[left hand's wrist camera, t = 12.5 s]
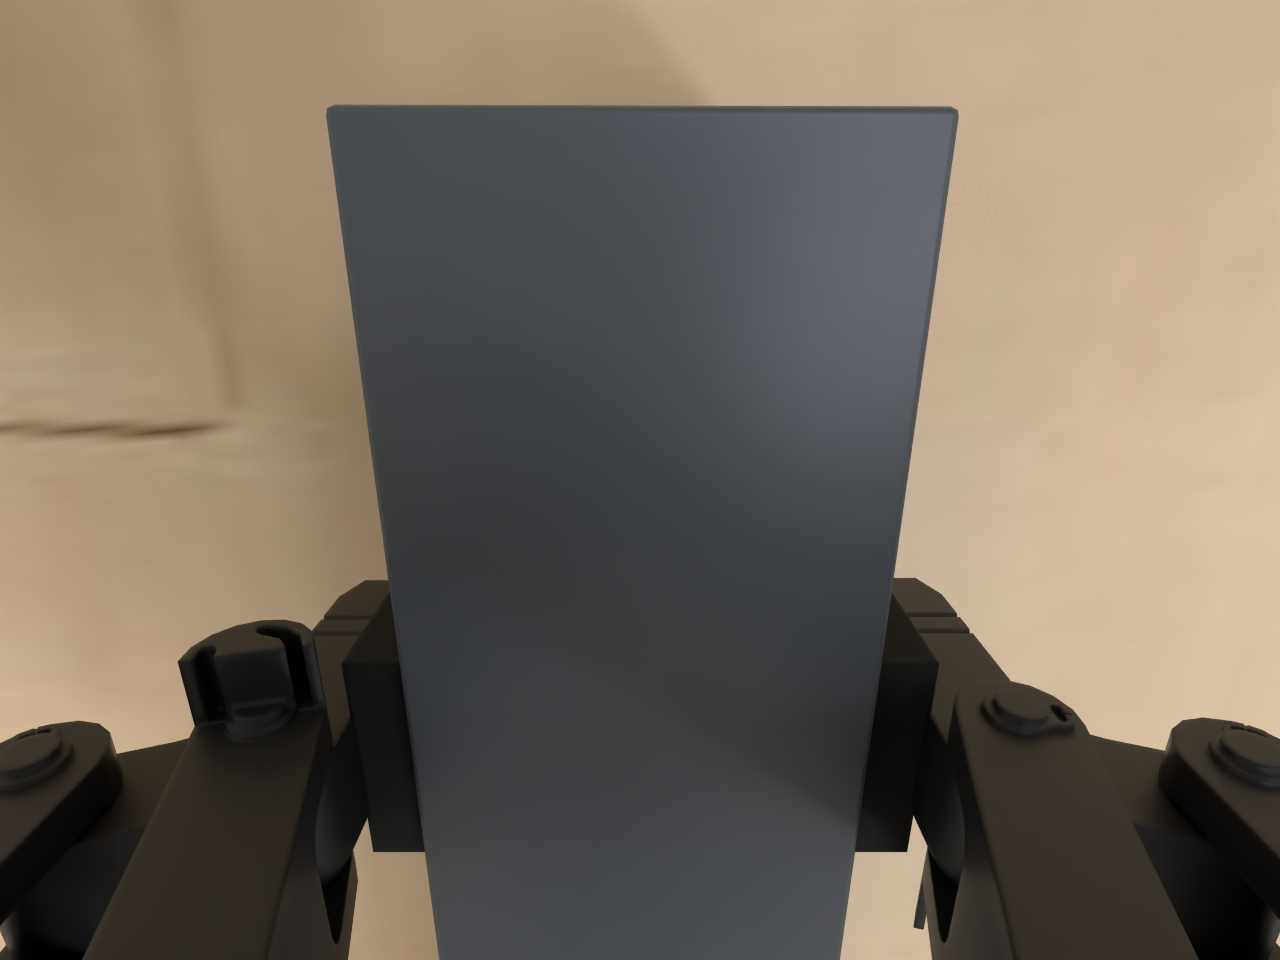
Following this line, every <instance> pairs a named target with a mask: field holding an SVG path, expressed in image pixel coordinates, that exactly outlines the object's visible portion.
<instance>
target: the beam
mask: <svg viewBox="0 0 1280 960" xmlns="http://www.w3.org/2000/svg"><path fill="white" fill-rule="evenodd" d="M326 117H327V124H328V132H329V139H330V147H331V154H332V162H333V169H334V177H335V184H336V192H337V199H338V206H339V214H340V221H341V229H342V236H343V244H344V251H345V259H346V266H347V274H348V281H349V289H350V296H351V303H352V311H353V318H354V326H355V333H356V341H357V348H358V356H359V363H360V371H361V378H362V385H363V393H364V400H365V408H366V415H367V423H368V430H369V438H370V445H371V453H372V460H373V467H374V475H375V482H376V490H377V497H378V505H379V512H380V520H381V527H382V535H383V542H384V550H385V557H386V564H387V572H388V579H389V587H390V594H391V602H392V609H393V617H394V624H395V632H396V639H397V646H398V654H399V661H400V669H401V676H402V684H403V691H404V699H405V706H406V714H407V721H408V728H409V736H410V743H411V751H412V758H413V766H414V773H415V781H416V788H417V796H418V803H419V811H420V818H421V825H422V833H423V840H424V848H425V855H426V863H427V870H428V878H429V885H430V893H431V900H432V907H433V915H434V922H435V930H436V937H437V945H438V952H439V960H840V954H841V947H842V940H843V933H844V925H845V918H846V911H847V904H848V897H849V890H850V883H851V876H852V869H853V862H854V855H855V847H856V840H857V833H858V826H859V819H860V812H861V805H862V798H863V791H864V784H865V777H866V769H867V762H868V755H869V748H870V741H871V734H872V727H873V720H874V713H875V706H876V698H877V691H878V684H879V677H880V670H881V663H882V656H883V649H884V642H885V635H886V628H887V620H888V613H889V606H890V599H891V592H892V585H893V578H894V571H895V564H896V557H897V550H898V542H899V535H900V528H901V521H902V514H903V507H904V500H905V493H906V486H907V479H908V472H909V464H910V457H911V450H912V443H913V436H914V429H915V422H916V415H917V408H918V401H919V393H920V386H921V379H922V372H923V365H924V358H925V351H926V344H927V337H928V330H929V323H930V315H931V308H932V301H933V294H934V287H935V280H936V273H937V266H938V259H939V252H940V245H941V237H942V230H943V223H944V216H945V209H946V202H947V195H948V188H949V181H950V174H951V167H952V159H953V152H954V145H955V138H956V131H957V124H958V110H956V109H954V108H952V107H920V106H570V105H333V106H331V107H329V108H327V114H326Z"/></svg>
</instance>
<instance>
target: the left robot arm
mask: <svg viewBox="0 0 1280 960" xmlns="http://www.w3.org/2000/svg"><path fill="white" fill-rule="evenodd" d="M178 665H179V668H180V672H181V676H182V680H183V683H184V687H185V691H186V695H187V699H188V702H189V706H190V710H191V714H192V717H193V721H194V725H195V727H194V729H193V731H192V733H191V735H190V737H189V738H188V739H184V740H181V741H177V742H173V743H168V744H163V745H158V746H153V747H148V748H143V749H139V750H134V751H129V752H124V753H119V754H117V753H116V750H115V747H114V744H113V741H112V738H111V734H110V732H109V731H108V730H106V729H105V728H104V727H102V726H101V725H100V724H98V723H91V722H84V721H74V722H65V723H57V724H50V725H46V726H41V727H38V729H31V730H28V731H25V732H22V733H20V734H17V735H16V736H14V737H13V738H11V739H8V740H6V741H4V742H2V743H0V932H1V934H2V936H3V939H4V941H5V943H6V946H5V947H4V948H3V950H2V951H1V952H0V960H348V955H349V947H350V939H351V931H352V923H353V915H354V907H355V899H356V891H357V884H358V878H357V870H356V863H355V858H354V852H353V849H354V846H355V844H356V842H357V840H358V838H359V835H360V833H361V831H362V829H363V827H364V824H365V822H366V820H367V818H368V823H369V829H370V834H371V840H372V846H373V852H425V848H424V840H423V833H422V825H421V818H420V811H419V803H418V796H417V788H416V781H415V773H414V766H413V758H412V751H411V743H410V736H409V728H408V721H407V714H406V706H405V699H404V691H403V684H402V676H401V669H400V661H399V654H398V646H397V639H396V632H395V624H394V617H393V609H392V602H391V594H390V587H389V580H365V581H364V582H362V583H360V584H359V585H357V586H356V587H354V588H352V589H351V590H349V591H348V592H346V593H345V594H343V595H341V596H340V597H339V598H338V599H337V600H336V602H335V603H334V604H333V605H332V607H331V608H330V609H329V610H328V612H327V613H326V614H325V616H324V620H321V621H320V622H319V623H318V624H317V626H316V627H315V628H314V629H313V631H311V630H310V629H309V628H307V627H306V626H305V625H303V624H302V623H297V622H292V621H288V620H261V621H256V622H252V623H247V624H242V625H237V626H234V627H231V628H229V629H226V630H224V631H221V632H218V633H216V634H213V635H211V636H209V637H207V638H206V639H204V640H202V641H201V642H199V643H198V644H196V645H194V646H193V647H191V648H190V649H189V650H188V651H187V652H186V653H185V654H184V655H183V656H182V658H181V659H180V660H179V661H178ZM913 815H914V817H915V820H916V822H917V824H918V826H919V828H920V831H921V833H922V835H923V837H924V839H925V841H926V844H927V846H928V847H927V852H926V858H925V863H924V869H923V874H922V880H921V885H920V890H919V896H918V901H917V907H916V913H915V920H914V928H918V929H924V924H925V919H926V914H927V922H928V930H929V937H930V945H931V953H932V960H1280V947H1279V946H1278V945H1277V943H1276V941H1277V938H1278V936H1279V934H1280V739H1279V738H1276V737H1274V736H1272V735H1270V734H1268V733H1267V732H1265V731H1263V730H1261V729H1258V728H1255V727H1252V726H1249V725H1248V726H1245V725H1244V724H1242V723H1237V722H1233V721H1226V720H1218V719H1210V718H1197V719H1190V720H1183V721H1181V722H1180V723H1179V724H1178V725H1176V726H1175V727H1174V728H1173V729H1172V730H1171V733H1170V737H1169V740H1168V743H1167V746H1166V749H1165V751H1163V750H1158V749H1153V748H1148V747H1143V746H1138V745H1133V744H1128V743H1124V742H1119V741H1114V740H1109V739H1105V738H1101V737H1097V736H1093V735H1090V734H1089V732H1088V730H1087V728H1086V726H1085V724H1084V723H1083V722H1082V721H1081V719H1080V718H1079V717H1078V716H1077V714H1076V713H1075V712H1074V710H1072V709H1071V708H1070V707H1068V706H1067V705H1065V704H1064V703H1063V702H1061V701H1060V700H1058V699H1057V698H1055V697H1054V696H1052V695H1050V694H1047V693H1045V692H1043V691H1041V690H1038V689H1036V688H1034V687H1032V686H1028V685H1024V684H1020V683H1016V682H1012V681H1010V680H1009V678H1008V677H1007V676H1006V675H1005V673H1004V672H1003V671H1002V670H1001V668H1000V667H999V666H998V665H997V663H996V662H995V661H994V660H993V658H992V657H991V656H990V654H989V653H988V652H987V651H986V649H985V648H984V647H983V646H982V644H981V643H980V642H979V641H978V639H977V638H976V637H975V636H974V634H973V633H970V632H969V628H968V627H967V626H966V624H965V623H964V622H963V621H962V619H961V618H960V617H957V613H956V612H955V611H954V609H953V608H952V607H951V605H950V604H949V603H948V602H947V600H946V599H945V598H944V597H943V595H942V594H940V593H939V592H937V591H935V590H934V589H932V588H931V587H929V586H927V585H926V584H924V583H923V582H921V581H919V580H918V579H916V578H893V585H892V592H891V599H890V606H889V613H888V620H887V628H886V635H885V642H884V649H883V656H882V663H881V670H880V677H879V684H878V691H877V698H876V706H875V713H874V720H873V727H872V734H871V741H870V748H869V755H868V762H867V769H866V777H865V784H864V791H863V798H862V805H861V812H860V819H859V826H858V833H857V840H856V847H855V852H907V849H908V843H909V838H910V832H911V826H912V820H913Z"/></svg>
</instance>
